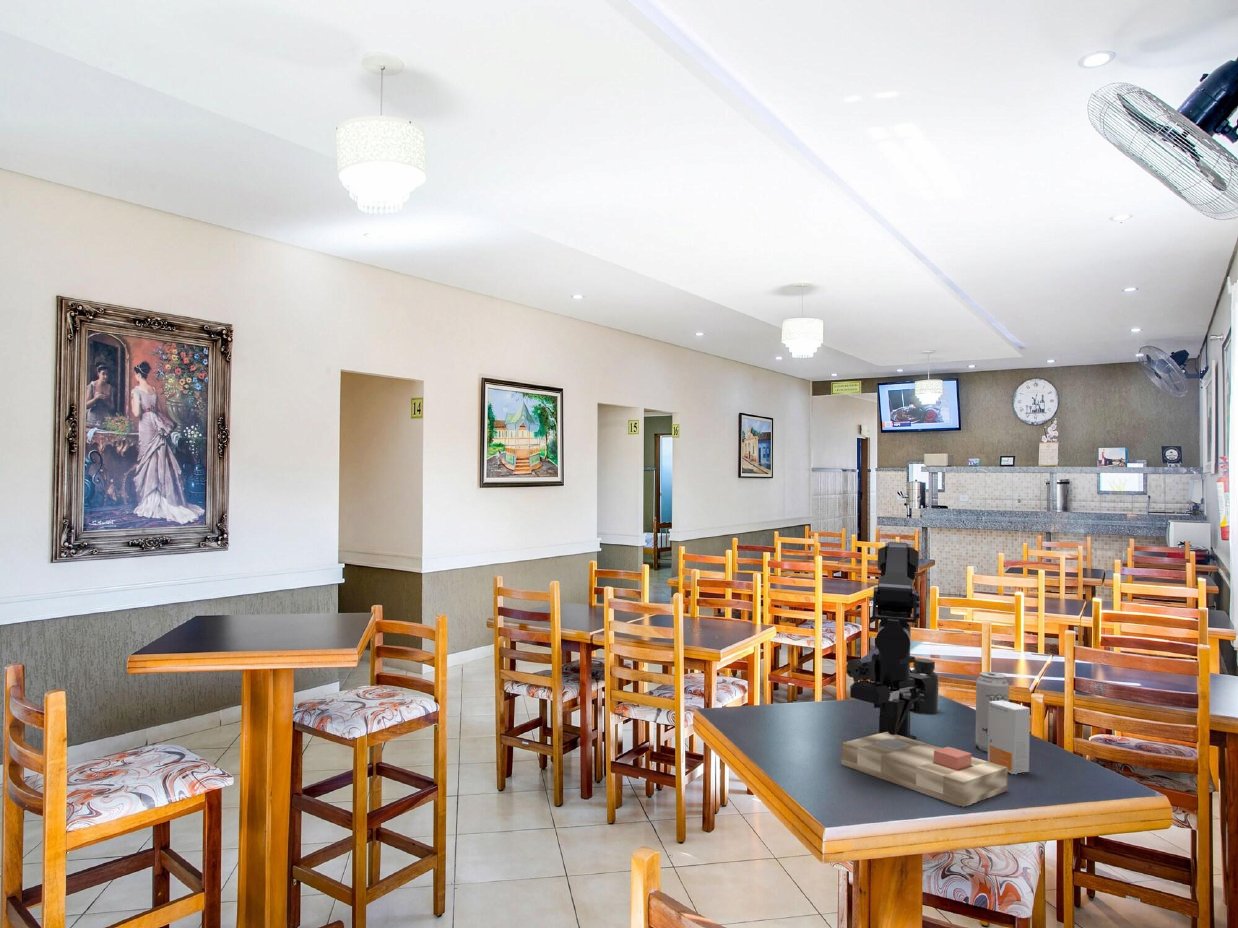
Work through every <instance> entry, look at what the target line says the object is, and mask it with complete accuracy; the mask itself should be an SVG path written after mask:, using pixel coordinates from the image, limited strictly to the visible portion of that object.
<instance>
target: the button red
mask: <svg viewBox="0 0 1238 928" xmlns="http://www.w3.org/2000/svg"><path fill="white" fill-rule="evenodd" d="M940 748H941V749H938V750H934V764H937V765H941V766H944V767H947V768H950V769H953V770H956V771H960V770H963V769H966V768H969V767H971V762H972V757H973V756H972V752H967V751H965V750H961V749H958V748H955V747H951V746H945V747H940Z"/></svg>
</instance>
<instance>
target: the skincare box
mask: <svg viewBox="0 0 1238 928" xmlns="http://www.w3.org/2000/svg"><path fill="white" fill-rule="evenodd" d="M1030 717H1031V708H1030V707H1028V706H1024V705H1021V704H1018V703H1015V702H1010V701H1009V702H1008V701H1004V700H1000V701H990V702H989V713H988V752H987V760H986V761H987V762H991V763H994V764H997V765H1001V766H1004V767H1007V773H1009V774H1011V775H1013V774H1015V775H1018V774H1017V773H1021V772H1028V773H1029V772H1030V730H1031V729H1030V721H1031V719H1030Z"/></svg>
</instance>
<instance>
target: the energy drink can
mask: <svg viewBox="0 0 1238 928" xmlns="http://www.w3.org/2000/svg"><path fill="white" fill-rule="evenodd" d="M1006 678H1007V676H1006V675H1005V674H1002V673H997V672H990V671H981V672H979V676H978V678H977V679H976V682H975V684H976V685H975V686H976V687H975V691H976V692H975V744H976V745H977V747H978V749H979V750H981V751H983V752H987V753H988V713H989V702H990V701H1000V700H1004V701H1008V702H1010V695H1009V694H1010V683H1009V682H1008V680H1007V679H1006Z"/></svg>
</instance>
